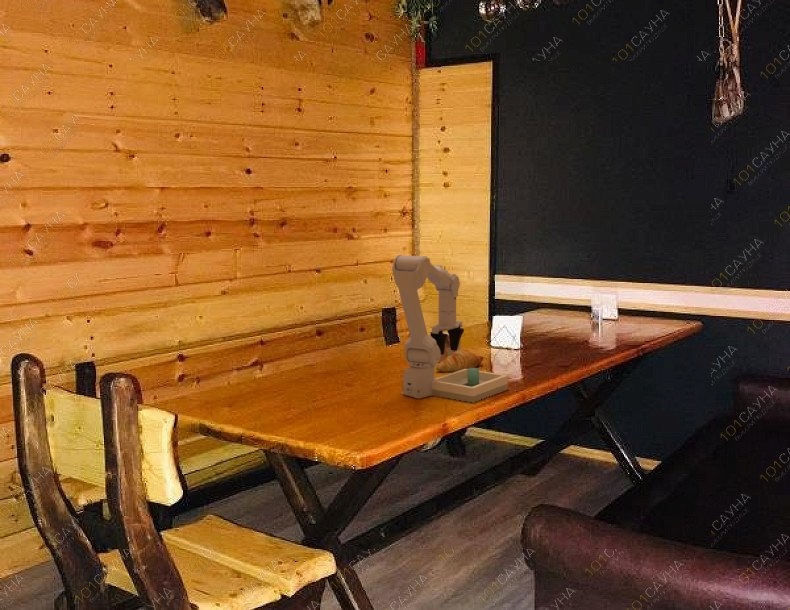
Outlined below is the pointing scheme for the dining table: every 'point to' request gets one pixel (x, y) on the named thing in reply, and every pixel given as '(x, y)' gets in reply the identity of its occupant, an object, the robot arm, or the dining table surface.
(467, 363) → the croissant
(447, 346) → the small box
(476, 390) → the bore tray
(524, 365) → the dining table surface
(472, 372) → the peg
